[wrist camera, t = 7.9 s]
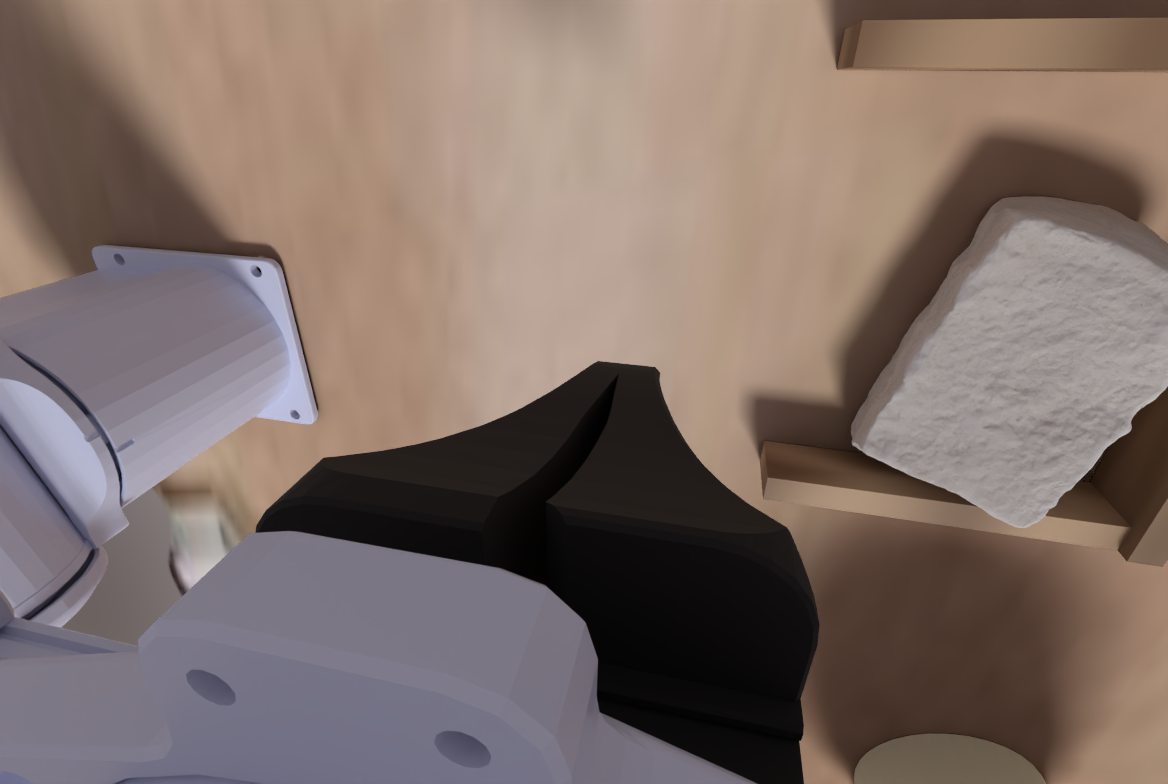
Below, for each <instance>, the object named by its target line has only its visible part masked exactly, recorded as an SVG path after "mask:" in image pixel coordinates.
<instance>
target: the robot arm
mask: <svg viewBox="0 0 1168 784" xmlns="http://www.w3.org/2000/svg"><path fill="white" fill-rule="evenodd" d="M92 256H93V259H94V262H95V264H96V267H97V269H98V270H96V271H92V272H89V273H85V274H82V275H78V276H75V277H71V278H68V279H64V280H61V281H57V282H54V283H50V284H47V285H44V286H40V287H37V288H33V289H30V290H26V291H23V292H19V293H16V294H12V295H9V296H5V297H2V298H0V784H804V780H803V772H802V763H801V754H800V745H799V740H800V741H801V739H802V736H803V727H804V724H803V716H802V708H801V700H800V698H801V695H802V692H803V689H804V685H805V682H806V679H807V676H808V673H809V670H810V666H811V663H812V660H813V657H814V654H815V651H816V647H817V642H818V632H819V620H818V614H817V607H816V603H815V599H814V595H813V592H812V588H811V585H810V582H809V579H808V576H807V573H806V571H805V568H804V565H803V562H802V559H801V557H800V555H799V552H798V550H797V547H796V545H795V543H794V540H793V538H792V536H791V534H790V532H789V530H788V529H787V527H785V526H783V525H782V524H780V523H778V522H777V521H775V520H774V519H772V518H770V517H769V516H767V515H765V514H764V513H762V512H760V511H759V510H757V509H756V508H754V507H752V506H751V505H749V504H748V503H746V502H745V501H744V500H742V499H741V498H740V497H738V496H737V495H736V494H735V493H733V492H732V491H731V490H729V489H728V488H727V487H726V486H725V485H723V484H722V483H721V482H720V481H719V480H718V479H717V478H716V477H715V476H714V475H713V474H712V473H711V472H710V471H709V470H708V469H707V468H706V467H705V466H704V465H703V464H702V463H701V462H700V460H699V459H698V458H697V457H696V455H695V454H694V453H693V451H692V450H691V449H690V447H689V446H688V444H687V443H686V441H685V440H684V438H683V437H682V435H681V433H680V432H679V430H678V428H677V426H676V424H675V423H674V421H673V418H672V416H671V414H670V412H669V410H668V407H667V405H666V402H665V400H664V397H663V394H662V390H661V387H660V382H659V379H660V372H659V371H658V370H657V369H656V368H655V367H648V366H639V365H629V364H620V363H610V362H601V361H598V362H596V363H594V364H592V365H591V366H589V367H588V368H586V369H585V370H583V371H582V372H580V373H579V374H577V375H576V376H574V377H573V378H571V379H570V380H568V381H567V382H565V383H564V384H562V385H561V386H559V387H558V388H556V389H554V390H553V391H551V392H549V393H548V394H546V395H544V396H542V397H541V398H539V399H537V400H535V401H533V402H532V403H530V404H528V405H526V406H525V407H523V408H521V409H519V410H517V411H515V412H513V413H510V414H508V415H506V416H504V417H501V418H499V419H497V420H494V421H492V422H489V423H487V424H484V425H482V426H479V427H476V428H473V429H470V430H466V431H463V432H460V433H457V434H454V435H451V436H447V437H444V438H441V439H437V440H433V441H429V442H425V443H420V444H416V445H411V446H406V447H401V448H396V449H390V450H384V451H378V452H370V453H362V454H354V455H346V456H338V457H327V458H323V459H322V460H321V461H320V462H319V463H317V464H316V465H315V466H314V467H313V468H312V469H311V470H310V471H309V472H308V473H307V474H305V475H304V476H303V477H302V478H301V479H300V480H299V481H298V482H297V483H296V484H295V485H293V486H292V487H291V488H290V489H289V490H288V491H287V492H286V493H285V494H284V495H283V496H281V497H280V498H279V499H278V500H277V501H276V502H275V503H274V504H273V505H272V506H271V507H269V508H268V509H267V510H266V511H265V513H264V514H263V516H262V518H261V519H260V521H259V522H258V524H257V526H256V533H250V534H249V535H248V536H247V537H245V538H244V539H243V540H242V541H241V542H240V543H239V544H238V545H237V546H236V547H235V548H234V549H233V550H232V551H230V552H229V553H228V554H227V555H226V556H225V557H224V558H223V559H222V560H221V561H220V562H219V563H218V564H217V565H215V566H214V567H213V568H212V569H211V570H210V571H209V572H208V573H207V574H206V575H205V576H204V577H203V578H202V579H200V580H199V581H198V582H197V583H196V584H195V585H194V586H193V587H192V588H191V589H190V590H189V591H188V592H187V593H185V594H184V595H183V596H182V597H181V598H180V599H179V600H178V601H177V602H176V603H175V604H174V605H173V606H172V607H171V608H169V610H167V611H166V612H165V613H164V614H163V615H162V616H161V617H160V618H159V619H158V620H157V621H156V622H155V623H154V624H153V625H152V626H151V627H150V628H149V629H148V630H147V631H146V632H145V633H144V634H143V635H142V636H141V637H140V638H139V639H138V646H135V645H131V644H127V643H122V642H119V641H114V640H110V639H106V638H102V637H97V636H93V635H89V634H85V633H81V632H76V631H72V630H67V629H63V628H61V627H62V626H63V625H64V624H65V623H67V622H68V621H69V620H70V618H72V617H73V616H74V615H75V614H76V613H77V612H78V611H79V610H80V609H81V608H82V606H83V605H84V604H85V603H86V602H87V600H88V599H89V598H90V596H91V594H92V593H93V591H94V589H95V587H96V586H97V584H98V583H99V581H100V580H101V579H102V577H103V575H104V572H105V570H106V568H107V564H108V557H107V554H106V551H105V550H104V548H103V547H102V546H101V545H102V544H104V543H105V542H107V541H108V540H109V539H111V538H112V537H113V536H115V535H116V534H117V533H119V532H120V531H122V530H123V529H124V528H126V527H127V526H128V525H129V522H128V520H127V519H126V517H125V515H124V514H123V511H122V508H123V507H124V506H126V505H127V504H129V503H130V502H132V501H133V500H135V499H136V498H137V497H139V496H140V495H142V494H143V493H145V492H146V491H147V490H149V489H150V488H152V487H153V486H155V485H156V484H158V483H159V482H161V481H162V480H164V479H165V478H166V477H168V476H169V475H171V474H172V473H174V472H175V471H177V470H178V469H179V468H181V467H182V466H184V465H185V464H187V463H188V462H190V461H191V460H192V459H194V458H195V457H197V456H198V455H200V454H201V453H203V452H204V451H205V450H207V449H208V448H210V447H211V446H213V445H214V444H216V443H217V442H218V441H220V440H221V439H223V438H224V437H226V436H227V435H229V434H230V433H231V432H233V431H234V430H236V429H237V428H239V427H240V426H242V425H243V424H244V423H246V422H247V421H249V420H250V419H252V418H253V417H259V418H266V419H273V420H280V421H287V422H294V423H301V424H312V423H313V422H314V421H316V420H317V418H318V412H317V408H316V404H315V400H314V396H313V392H312V388H311V384H310V380H309V376H308V372H307V368H306V363H305V359H304V355H303V351H302V347H301V343H300V339H299V335H298V331H297V327H296V323H295V319H294V315H293V311H292V307H291V303H290V299H289V295H288V291H287V287H286V283H285V279H284V275H283V271H282V268H281V266H280V265H279V264H278V262H276V261H275V260H273V259H270V258H260V257H248V256H236V255H223V254H211V253H199V252H186V251H174V250H162V249H149V248H137V247H125V246H112V245H100V246H96V247H94V248H93V249H92ZM257 266H258V267H259V268H260V270H261V272H262V274H261V273H260V272H259V271H258V269H257ZM296 411H297V412H298V413H299V414H298V413H297V412H296Z"/></svg>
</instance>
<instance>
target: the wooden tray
mask: <svg viewBox="0 0 1168 784" xmlns="http://www.w3.org/2000/svg"><path fill="white" fill-rule="evenodd" d="M837 70H944V71H1086V72H1168V18H1056V19H939V20H862V21H860V22H858V23H856V24H854V25H852V26H850V27H848V28H846V29H845V31H844V36H843V41H842V46H841V51H840V56H839V61H838V66H837ZM1131 425H1132V429H1131V431H1130V432H1129V433H1127V434H1126V435H1124V436H1122V437H1120V438H1118V439H1117V440H1116V441H1115V442H1113V443H1112V444H1111V445H1110V447H1109V448H1108V450H1107V452H1106V454H1105V456H1104V458H1103V459H1102V461H1101V463H1100V465H1099V467H1098V468H1097V470H1096V472H1095V474H1094V476H1093V478H1092V479H1091V481H1090V482H1085V481H1078V482H1077V483H1076V484H1075V485H1074V487H1073V488H1072V489H1071V490H1069V491H1067V492H1065V493H1064V494H1063V495H1062V496H1061V497H1060V498H1059V500H1058V502H1057V505H1056V506H1055V507H1053V508H1051V509H1049V511H1048V512H1047V514H1046V515H1045V517H1043V518H1042V519H1041V520H1040V521H1039V522H1037V523H1034V524H1032V525H1030V526H1029V527H1026V528H1018V527H1014V526H1012V525H1009V524H1007V523H1005V522H1003V521H1001V520H999V519H996V518H994V517H993V516H991V515H989V514H988V513H987V512H986V511H984V510H983V509H982V508H980V507H978V506H976V505H974V504H972V503H970V502H969V501H967V500H966V499H964V498H963V497H961V496H960V495H958V494H956V493H953V492H950V491H948V490H946V489H945V488H942V487H939V486H936V485H934V484H931V483H928V482H926V481H923V480H921V479H917V478H915V477H912V476H910V475H908V474H906V473H905V472H903V471H900V470H898V469H895V468H893V467H891V466H889V465H888V464H886V463H884V462H882V461H879V460H877V459H875V458H873V457H870V456H868V455H866V454H865V453H857V452H849V451H841V450H833V449H825V448H817V447H810V446H802V445H794V444H786V443H778V442H770V441H764V443H763V448H762V453H761V459H760V467H761V479H762V490H763V499H766V500H773V501H780V502H787V503H794V504H801V505H808V506H815V507H821V508H828V509H835V510H842V511H849V512H856V513H863V514H869V515H876V516H883V517H890V518H897V519H904V520H911V521H917V522H924V523H931V524H938V525H945V526H952V527H959V528H965V529H972V530H979V531H986V532H993V533H1000V534H1007V535H1013V536H1020V537H1027V538H1034V539H1041V540H1048V541H1055V542H1061V543H1068V544H1075V545H1082V546H1089V547H1096V548H1103V549H1109V550H1116V551H1119V553H1120V554H1121V555H1122V556H1123V557H1124V558H1125V560H1126V561H1127V562H1134V563H1140V564H1147V565H1154V566H1161V567H1163V566H1164V564H1165V563H1166V561H1167V560H1168V386H1167V388H1166V389H1165V390H1164V391H1163V392H1162V393H1161V394H1160V395H1159V396H1158V397H1157V398H1156V399H1155V400H1154V401H1152V402H1150V403H1149V404H1147V405H1146V406H1144V407H1143V408H1141V409H1140V410H1139V411H1138V412H1137V413H1136V414H1135V415H1134V417H1133V418H1132V421H1131Z"/></svg>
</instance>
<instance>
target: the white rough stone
mask: <svg viewBox="0 0 1168 784" xmlns="http://www.w3.org/2000/svg"><path fill="white" fill-rule="evenodd" d="M1167 386H1168V244H1167V243H1166V242H1165V241H1164V240H1162V239H1161V238H1160V237H1159V236H1158V235H1157V234H1156V233H1155V232H1154V231H1152V230H1151V229H1149V227H1147V226H1146V225H1144V224H1142V223H1139V222H1136V221H1134V220H1131V219H1129V218H1128V217H1126V216H1125V215H1123V214H1122V213H1120V212H1118V211H1116V210H1113V209H1111V208H1109V207H1106V206H1102V205H1094V204H1089V203H1084V202H1078V201H1071V200H1065V199H1061V198H1053V197H1028V196H1021V197H1008V198H1003V199H1001V200H999V201H998V202H996V203H995V204H994V205H993V206H992V207H991V208H990V209H989V211H988V212H987V213H986V215H985V217H984V218H983V220H982V221H981V222H980V224H979V226H978V228H977V231H976V233H975V236H974V238H973V240H972V242H971V244H970V246H969V247H968V248H967V249H966V250H965V251H963V252H962V253H961V254H960V255H959V256H958V257H957V258H956V259H955V260H954V261H953V263H952V265H951V267H950V270H949V272H948V275H947V277H946V278H945V280H944V281H943V283H942V284H941V286H940V288H939V290H938V291H937V292H936V295H935V296H934V297H933V299H932V300H931V302H930V303H929V305H928V306H926V308H925V309H924V310H923V311H922V312H921V313H920V314H919V315H918V316H917V318H916V319H915V320H914V322H913V323H912V325H911V326H910V328H909V330H908V332H907V333H906V334H905V335H904V337H903V339H902V341H901V343H900V345H899V347H898V349H897V351H896V353H895V354H894V355H893V356H892V359H891V361H890V362H889V364H887V365H886V367H885V368H884V369H883V371H882V372H881V373H880V375H879V377H878V379H877V380H876V382H875V383H874V385H873V386H872V388H871V390H870V391H869V394H868V397H867V399H866V400H865V401H864V403H863V404H862V406H861V407H860V409H859V411H858V413H857V415H856V417H855V419H854V421H853V423H852V426H851V436H852V445H853V446H855V447H857V448H858V449H859V450H861V451H863V452H864V453H865V454H866V455H868V456H870V457H873V458H875V459H877V460H879V461H882V462H884V463H886V464H888V465H889V466H891V467H893V468H895V469H898V470H900V471H903V472H905V473H906V474H908V475H910V476H912V477H915V478H917V479H921V480H923V481H926V482H928V483H931V484H934V485H936V486H939V487H942V488H945V489H946V490H948V491H950V492H953V493H956V494H958V495H960V496H961V497H963V498H964V499H966V500H967V501H969V502H970V503H972V504H974V505H976V506H978V507H980V508H982V509H983V510H984V511H986V512H987V513H988V514H989V515H991V516H993V517H994V518H996V519H999V520H1001V521H1003V522H1005V523H1007V524H1009V525H1012V526H1014V527H1018V528H1026V527H1029V526H1030V525H1032V524H1034V523H1037V522H1039V521H1040V520H1041V519H1042V518H1043V517H1045V515H1046V514H1047V512H1048V511H1049V509H1051V508H1053V507H1055V506H1056V505H1057V502H1058V500H1059V498H1060V497H1061V496H1062V495H1063V494H1064V493H1065V492H1067V491H1069V490H1071V489H1072V488H1073V487H1074V485H1075V484H1076V483H1077V482H1078V481H1079V480H1080V479H1081V478H1082V477H1083V476H1084V475H1085V474H1086V473H1087V472H1088V471H1089V470H1090V469H1091V468H1092V467H1093V466H1094V464H1095V463H1096V462H1097V460H1098V459H1099V457H1100V456H1101V455H1102V453H1103V451H1104V450H1105V449H1106V448H1107V447H1108V446H1109V445H1111V444H1112V443H1113V442H1115V441H1116V440H1117V439H1118V438H1120V437H1122V436H1124V435H1126V434H1127V433H1129V432H1130V431H1131V429H1132V425H1131V421H1132V418H1133V417H1134V415H1135V414H1136V413H1137V412H1138V411H1139V410H1140V409H1141V408H1143V407H1144V406H1146V405H1147V404H1149V403H1150V402H1152V401H1154V400H1155V399H1156V398H1157V397H1158V396H1159V395H1160V394H1161V393H1162V392H1163V391H1164V390H1165V389H1166V388H1167Z"/></svg>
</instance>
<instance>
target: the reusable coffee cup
mask: <svg viewBox="0 0 1168 784" xmlns="http://www.w3.org/2000/svg"><path fill="white" fill-rule="evenodd" d="M854 784H1047V783H1046V782H1045V780H1044V778H1043V777H1042V775H1041V774H1040V773H1039V771H1038V770H1037V769H1036V768H1035V766H1034V765H1033V764H1032V763H1030V762H1029V761H1028V760H1026V759H1025V758H1024V757H1023V756H1021V755H1020V754H1018V753H1016V752H1014V751H1012V750H1010V749H1008V748H1006V747H1004V746H1001V745H999V744H996V743H993V742H990V741H987V740H983V739H979V738H975V737H970V736H964V735H955V734H931V733H928V734H919V735H910V736H905V737H901V738H897V739H893V740H890V741H888V742H885V743H882V744H880V745H878V746H876V747H875V748H873V749H872V750H870V751H868V752H867V753H866V754H865V755H864V756H863V757H862V758H861V759H860V760H859V762H858V764H857V766H856V768H855V774H854Z"/></svg>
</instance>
